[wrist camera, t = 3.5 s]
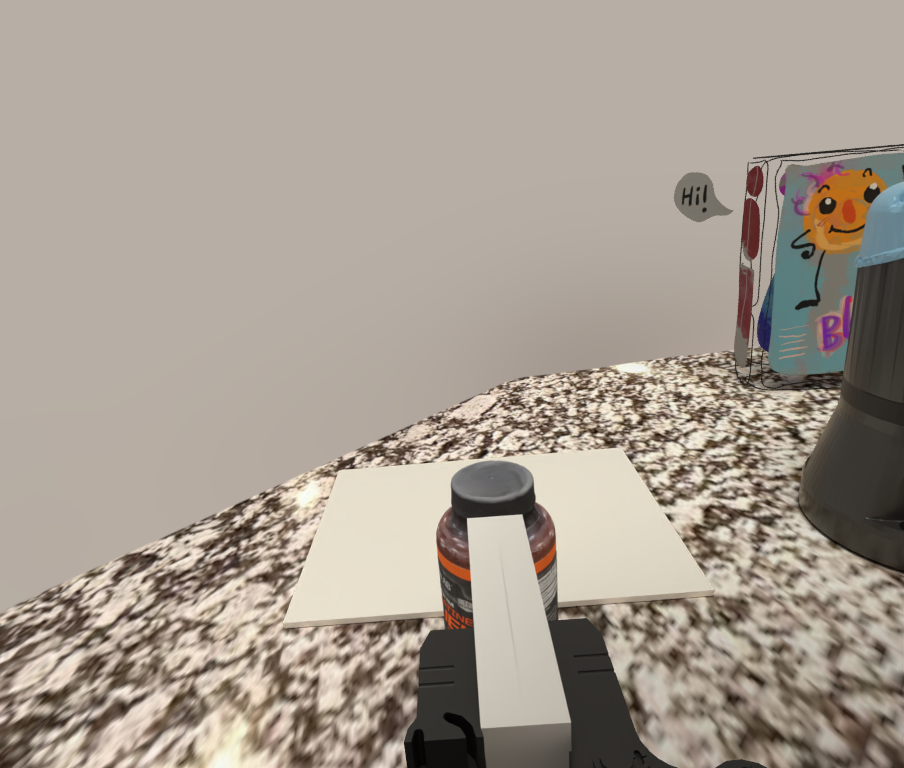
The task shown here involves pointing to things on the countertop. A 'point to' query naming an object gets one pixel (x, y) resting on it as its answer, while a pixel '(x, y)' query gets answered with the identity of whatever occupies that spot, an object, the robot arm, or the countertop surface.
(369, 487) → the mat
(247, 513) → the countertop surface
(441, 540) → the supplement bottle
